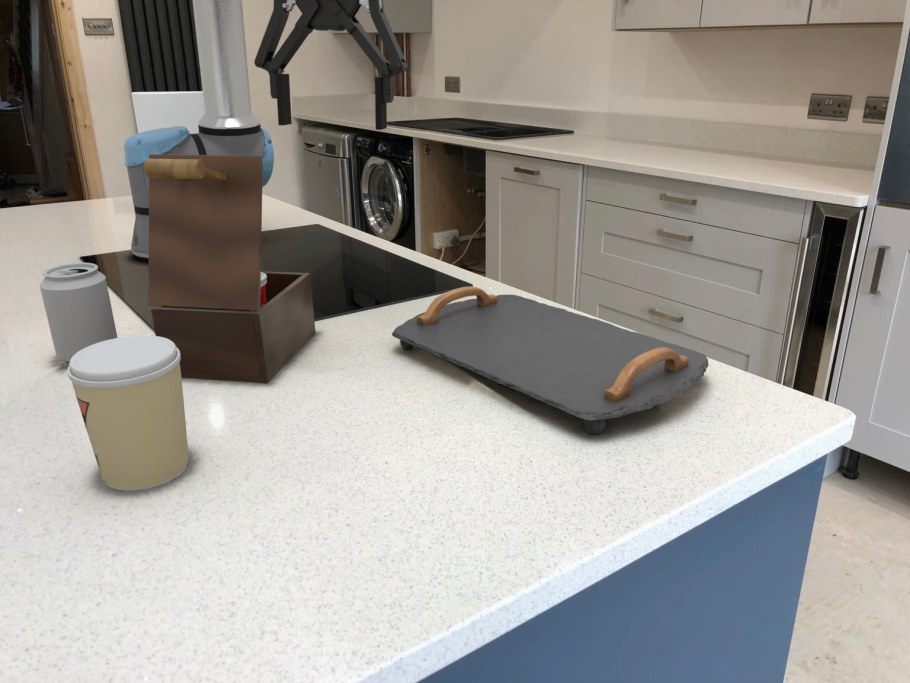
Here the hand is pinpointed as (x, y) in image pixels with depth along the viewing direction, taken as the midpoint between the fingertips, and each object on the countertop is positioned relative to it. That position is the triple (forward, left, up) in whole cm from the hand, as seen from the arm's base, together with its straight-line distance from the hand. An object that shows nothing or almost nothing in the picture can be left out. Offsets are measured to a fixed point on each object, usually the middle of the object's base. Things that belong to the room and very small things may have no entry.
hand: (332, 127), depth 99 cm
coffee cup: (+44, -6, -27) cm, 52 cm away
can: (+20, -29, -27) cm, 44 cm away
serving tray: (+14, +30, -27) cm, 43 cm away
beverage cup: (+14, -9, -27) cm, 31 cm away
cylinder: (-67, -62, -27) cm, 95 cm away
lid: (+21, -9, -10) cm, 25 cm away
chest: (+16, -9, -27) cm, 33 cm away
